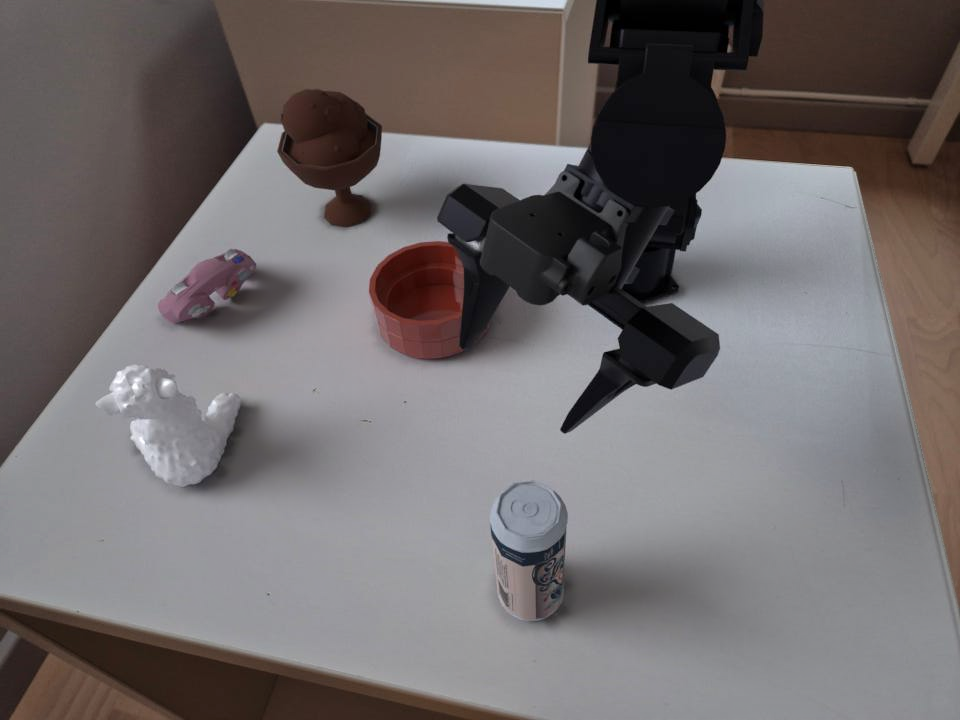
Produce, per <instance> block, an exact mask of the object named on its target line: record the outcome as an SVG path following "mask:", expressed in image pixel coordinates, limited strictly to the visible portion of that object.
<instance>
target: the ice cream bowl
mask: <svg viewBox="0 0 960 720" xmlns="http://www.w3.org/2000/svg"><path fill="white" fill-rule="evenodd" d="M280 123H281V125H282V128H283V131H282V132H281V135H280V139H279V143H278V147H277V151H276V152H277V154H278V156H279V157H280V160H281V161H282V163H283V165H284V166H286V168H288V170H289V171H291V172H292V174H294V176H296V177H297V178H298V179H299V180H300V181H301V182H302V183H304V185H307V186H309V187H312V188H314V189H320V190H329V191H334V193H335V196H334V197H333V198H332V199H331V200H329V201H328V202H327V203H326V204H325V206H324V207H325V208H324V214H323V219H325V220H326V221H327V222H328V223H329V224H330V225H331V226H336V227H341V228H348V227H351V226H355V225H359V224H362V223H363V222H364V221H366V219H367V218H369V217H370V216H371V215H372V207H373V206H372V203H371V201H369V200H368V199H367V198H366V197H365V196H364V195H362V194H357V193H353V192H352V190H351V187H354V186H356V185H358V184H359V183H360V182H361V181H362V180H364V179H366V177H367V176H369V175H370V174H371V172H372V171H373V170H374V169H375V168H376V167H377V166H378V164H379V160H380V157H381V149H382V140H383V139H382V138H383V137H382V136H383V125H382V124H381V123H379V122H378V121H376V119H374V118H373V117H371V116H370V115H368V114H367V113H366V110H365V108H364V106H362V105H361V104H360V103H359V102H358V101H355V100H354V99H353V98H351V97H349V96H348V95H346V94H345V93H344V92H343V93H342V92H341V91H335V90H332V91H331V90H322V89H319V88H314V89H307V88H305V89H302V90H299V91H298V92H295V93H293V94H291V96H289V98H288V99H287V100H286V101H285V103H284V104H283V106H282V113H281V115H280Z"/></svg>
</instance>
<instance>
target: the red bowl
mask: <svg viewBox="0 0 960 720" xmlns="http://www.w3.org/2000/svg"><path fill="white" fill-rule="evenodd" d="M368 283H369V284H368V296H369V299H370V304H371V307H372V312H373V315H374V320H375V324H376V327H377V330H378V332H379V335H380V337H381V339H382V340H383V341H384V342H385V343H386V344H387V345H388V346H389V347H390V348H391V349H393V350H395V351H397V352H399V353H400V354H403V355H404V356H407V357H412V358H418V359H423V360H427V359H442V358H447V357H451V356H453V355H457V354H460V353H462V352H464V351H465V350H462V349H461V348H460V347H459V340H460V329H461V318H462V307H463V296H464V268H463V265H462V262H461V260H460V258H459V256H458V254H457V252H456V250H455V248H454V247H453V246H452V245H450V244H449V243H448V241H443V240H442V241H441V240H435V241H433V240H432V241H423V242H422V241H421V242H418V243H414V244H410V245H406V246H404V247H401V248H399V249H397V250H396V251H394V252H391V253H390V254H388V255H387V256H386V257H385V258H383V260H381V261H380V262H379V263H378V264H377V265H376V266H375V269H374V270H373V272H372V274H371V276H370V277H369V282H368ZM492 320H493V317H492V318H491V320H490V322H489V324H488V325H487V327H486V329H485V330H484V332H483V333H482V335H481V336H480V338H479V339H478V340H477V342H476V343H475V344H477V343H479V341H480V340H481V339H482V337H483V336H484V335H485V334H486V333H487V332H488V330H489V328H490V325H491V323H492Z"/></svg>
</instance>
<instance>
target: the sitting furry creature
mask: <svg viewBox="0 0 960 720" xmlns="http://www.w3.org/2000/svg"><path fill="white" fill-rule="evenodd" d="M175 379H176V375H175V373H174V374H173V373H171V374H169V373H168V370H166V369H162V368H160V367H156V368H155V367H154V368H153V369H152V368H151V367H148V365H147V364H141V365H140V364H139V363H135V364H131V365H127V366H126V367H125V368H124V369H120V370H118V371H117V372H116V375H115V377H114V378H113V380H112V382H111V383H110V386H109V391H110V393H108V394H106V395H104V396H102V397H100V398H99V399H98V400H97V401H96V402H95V406H97V407H98V408H99V409H100V410H101V411H103V412H104V413H105V414H106V415H108V416H114V415H116V414H118V413H120V415H121V417H122V419H123V420H125V419H128V418H129V419H130V418H134V419H135V420H131V422H130V425H129V426H130V427H129V428H130V433H131V435H130V437H129V438H130V440H131V441H132V442H133V443H134V444H135V447H136V448H137V450H139V451H140V453H141V454H142V456H143V457H144V458H143V459H144V460H145V462H146V463H147V465H148V466H149V467H150V468H151V470H150V471H151V472H153V473H155V477H157V478H159V479H162V480H163V481H164V483H166V484H167V485H173V486H177V487H180V488H184V487H186V486H189V485H197V484H199V483H202V481H203V480H204V479H205V478H207V477H208V476H210V475H212V473H214V471H215V470H216V469H217V468H218V465H219V462H220V461H221V459H222V455H224V453H225V447H227V441H228V438H229V436H230V435H231V433H232V432H234V426H235V425H236V419H237V417H238V415H239V411H240V409H241V402H242V399H241V396H240V395H239V394H238V393H236V392H230V393H229V394H227V393H226V392H223V393H220V394H218V395H217V396H216V397H215V398H214V399H213V400H212V401H211V403H210V405H209V406H208V407H207V412H206V414H205V417H203V412H202V410H201V409H199V407H198V405H197V403H196V400H197V399H196V397H195V396H193V395H191V396H189V395H186V394H183V393H182V392H180V391H179V390H178V385H177V381H176V380H175Z"/></svg>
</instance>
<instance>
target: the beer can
mask: <svg viewBox="0 0 960 720" xmlns="http://www.w3.org/2000/svg"><path fill="white" fill-rule="evenodd" d="M568 520H569V514H568V509H567V506H566V504H565V502H564V501H563V498H562V497H561V495H559V493H557V492H556V491H555V490H553V489H552V487H550V486H548V485H545V484H543V483H541V482H538V481H537V480H526V481H525V480H524V481H518V482H513V483H512V484H510V486H508V487H506V488H505V489H504V490H503V491H502V492H501V493H499V494H498V495H497V497H496V498H495V499H494V500H493V502H492V504H491V508H490V511H489V526H490V535H491V543H492V544H491V545H492V553H493V555H492V556H493V564H494V573H495V583H496V593H497V597H498V600H499V602H500V604H501V605H502V608H503V609H504V610H505V611H506V612H507V613H508V614H510V615H511V616H512V617H513V618H516V619H518V620H521V621H525V622H537V621H541V620H544V619H546V618H548V617H550V616H551V615H552V614H554V613H555V612H556V611H557V610H558V608H559V607H560V605H561V604H562V602H563V598H564V592H565V591H564V590H565V585H564V583H565V582H564V581H565V566H566V565H565V563H566V547H567V546H566V545H567V527H568V526H567V525H568V522H569V521H568Z"/></svg>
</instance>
